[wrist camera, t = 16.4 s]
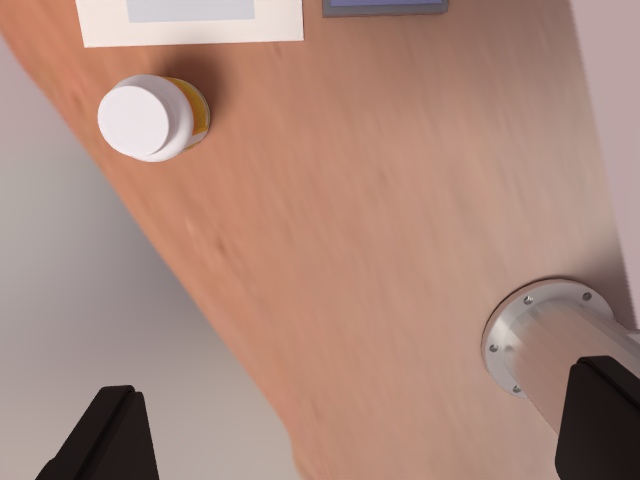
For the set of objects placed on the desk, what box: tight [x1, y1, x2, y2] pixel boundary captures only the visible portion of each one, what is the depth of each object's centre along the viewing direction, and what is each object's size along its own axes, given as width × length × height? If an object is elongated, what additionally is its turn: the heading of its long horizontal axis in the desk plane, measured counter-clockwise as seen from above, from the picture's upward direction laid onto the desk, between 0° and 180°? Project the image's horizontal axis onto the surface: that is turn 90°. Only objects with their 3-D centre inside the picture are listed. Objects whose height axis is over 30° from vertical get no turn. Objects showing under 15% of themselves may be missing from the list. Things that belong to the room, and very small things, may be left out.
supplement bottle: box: [98, 74, 210, 162], centre depth 29 cm, size 5×5×10 cm
